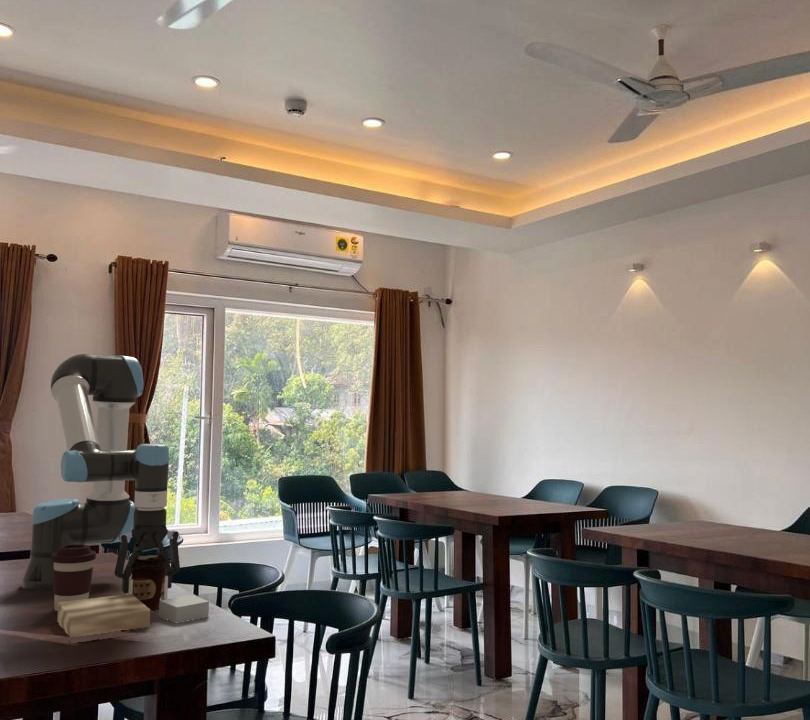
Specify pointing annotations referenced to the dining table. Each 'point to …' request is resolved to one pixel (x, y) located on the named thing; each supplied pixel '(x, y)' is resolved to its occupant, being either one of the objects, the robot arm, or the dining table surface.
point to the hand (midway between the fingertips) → (146, 604)
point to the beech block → (102, 615)
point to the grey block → (183, 608)
